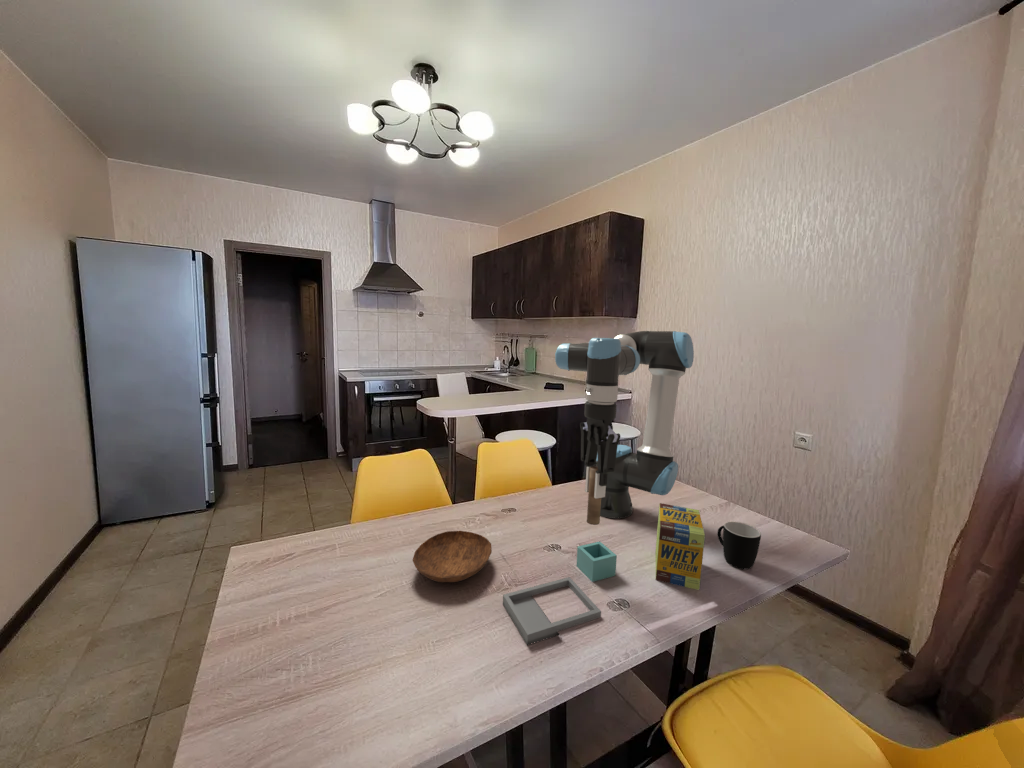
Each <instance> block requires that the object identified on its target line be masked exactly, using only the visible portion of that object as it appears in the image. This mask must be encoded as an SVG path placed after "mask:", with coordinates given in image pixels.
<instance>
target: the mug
mask: <svg viewBox="0 0 1024 768" xmlns="http://www.w3.org/2000/svg"><path fill="white" fill-rule="evenodd" d="M722 530H723V531H722ZM716 534H717V539H718V541H719V543H720V545H721V546H722V549H723V557H724V559H725V562H727V564H729V565H730V566H731V567H733V568H737V569H739V570H749V569H751V568H752V567H753V566H754V564H755V561H756V559H757V557H758V553H759V548H760V543H761V537H762V533H761V531H760V530H759V529H757V528H756V526H753V525H750V524H748V523H745V522H740V521H734V520H733V521H727V522H725V523H724V524H723V525H721V526H720V527H719V528H718V529H717V533H716Z"/></svg>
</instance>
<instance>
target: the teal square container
mask: <svg viewBox="0 0 1024 768" xmlns="http://www.w3.org/2000/svg"><path fill="white" fill-rule="evenodd" d="M576 551H577V553H576V564H575V566H576V567H577V568H578V570H579V571H580V572H582V573H583V574H584V576H585V577H587V579H588V580H589V581H591V583H594V582H598V581H601V580H605V579H607V578H608V579H609V578H612V577H615V576H616V575H617V574H616V572H617V558H618V557H617V556H618V555H617V554H616V553H615V552H614V551H612V550H611V549H610V548H609V547H608V546H606V545H605V544H604V543H602V542H601V540H600V541H595V542H591V543H587V544H582V545H579V546H577V549H576Z"/></svg>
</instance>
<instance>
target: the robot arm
mask: <svg viewBox="0 0 1024 768" xmlns="http://www.w3.org/2000/svg"><path fill="white" fill-rule="evenodd" d="M694 353H695V351H694V343H693V339H692V336H691V335H690V334H689V333H688V332H685V331H683V332H682V331H675V330H672V331H671V330H670V331H667V330H666V331H665V330H664V331H663V330H661V331H659V330H657V331H655V330H653V331H652V330H639V331H635V332H629V333H623V334H619V335H616V336H615V337H614V338H612V337H592V338H591V339H589V341H588V342H580V343H571V342H569V343H561V344H560V345H558V346H557V348H556V351H555V355H554V357H555V358H554V360H555V361H554V362H555V365H556V366H557V367H558V368H559V369H560V370H565V371H575V372H576V371H577V372H586V382H585V383H586V386H585V387H586V388H585V400H586V401H585V402H584V411H583V412H584V413H583V414H584V417H585V418H586V422H580V423H579V427H580V461H581V462H584V466H585V491H584V492H585V493H589V477H590V467H592V466H597V467H598V471H596V476H595V491H594V498H601V510H600V517H605V518H610V519H625V518H628V517H630V516H631V515H632V514H633V509H634V508H633V503H632V499H631V495H630V490H629V488H632V489H635V490H641V491H643V492H646V493H650V494H652V495H658V496H666V495H669V493H670V492H671V491H672V489H673V487H674V485H675V483H676V480H677V476H678V473H679V464H678V463H677V461H675V460H674V457H675V455H674V454H673V453H672V451H671V450H670V448H671V441H672V434H673V428H674V427H673V426H674V420H675V412H676V407H677V398H678V391H679V384H680V378H681V377H683V376H684V375H685V374H686V371H687V369H690V368H691V367H692V366H693V363H694V357H695V356H694ZM640 365H646V366H648V371H649V373H651V375H652V376H651V381H650V382H651V383H650V388H649V397H648V403H647V411H646V418H645V426H644V432H643V437H642V439H643V440H642V445H640V446H639V447H637V449H636V453H635V452H633V449H632V447H631V446H628V445H625V444H619V441H620V439H621V434H620V433H616V432H615V431H614V427H613V422H614V421H613V420H615V419H616V418H617V406H618V405H617V404H616V402H617V401H618V393H619V392H618V391H619V377H620V376H627V375H629V374H632V373H633V372H635V371H636V370H637V369H639V366H640Z"/></svg>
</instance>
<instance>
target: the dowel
mask: <svg viewBox="0 0 1024 768" xmlns="http://www.w3.org/2000/svg"><path fill="white" fill-rule="evenodd" d="M596 471H598V467H597V466H596V465H593V466H592V467H590V477H589V492H587V494H588V496H587V510H586V511H587V513H586V523H588V524H589V525H593V526H598V525H600V522H601V516H600V510H601V498H594V491H595V476H596Z"/></svg>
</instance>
